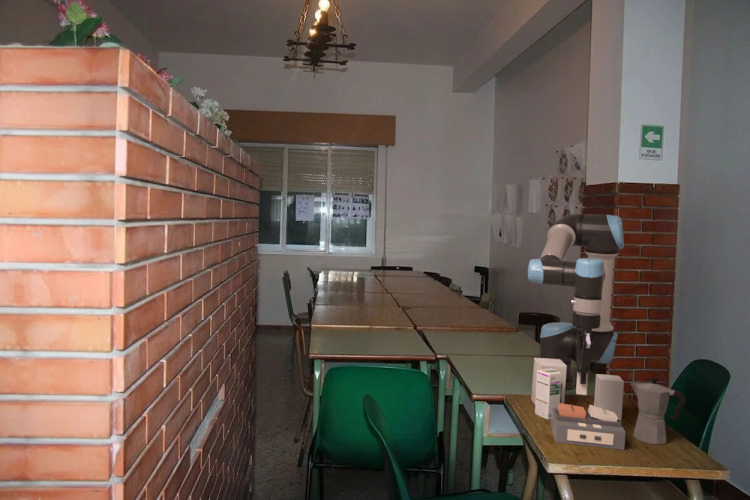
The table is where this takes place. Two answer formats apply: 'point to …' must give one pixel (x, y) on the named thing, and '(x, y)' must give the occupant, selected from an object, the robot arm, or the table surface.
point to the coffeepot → (654, 411)
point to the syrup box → (548, 391)
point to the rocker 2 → (602, 413)
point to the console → (587, 431)
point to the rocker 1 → (571, 410)
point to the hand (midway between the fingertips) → (581, 393)
